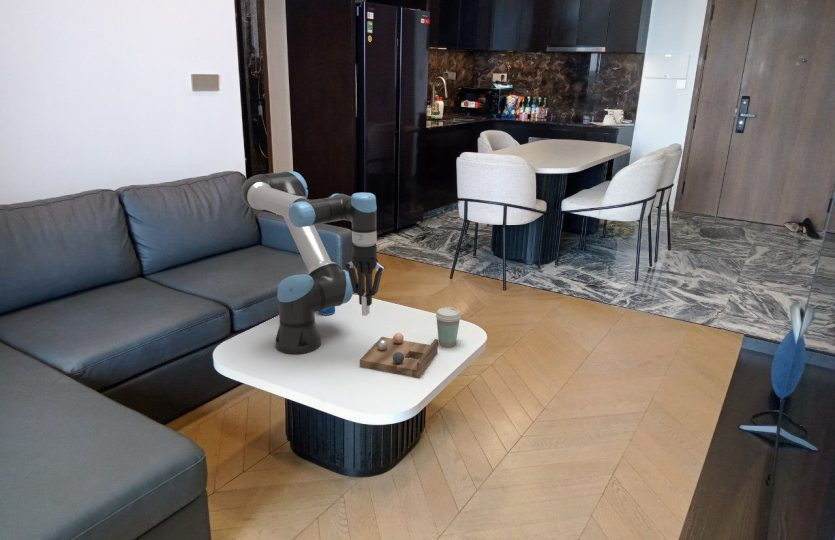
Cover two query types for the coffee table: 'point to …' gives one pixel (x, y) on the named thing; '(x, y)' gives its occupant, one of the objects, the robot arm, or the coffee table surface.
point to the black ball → (398, 357)
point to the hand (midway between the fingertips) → (365, 314)
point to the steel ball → (382, 344)
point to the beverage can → (327, 311)
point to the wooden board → (408, 367)
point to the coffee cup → (447, 326)
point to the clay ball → (398, 338)
